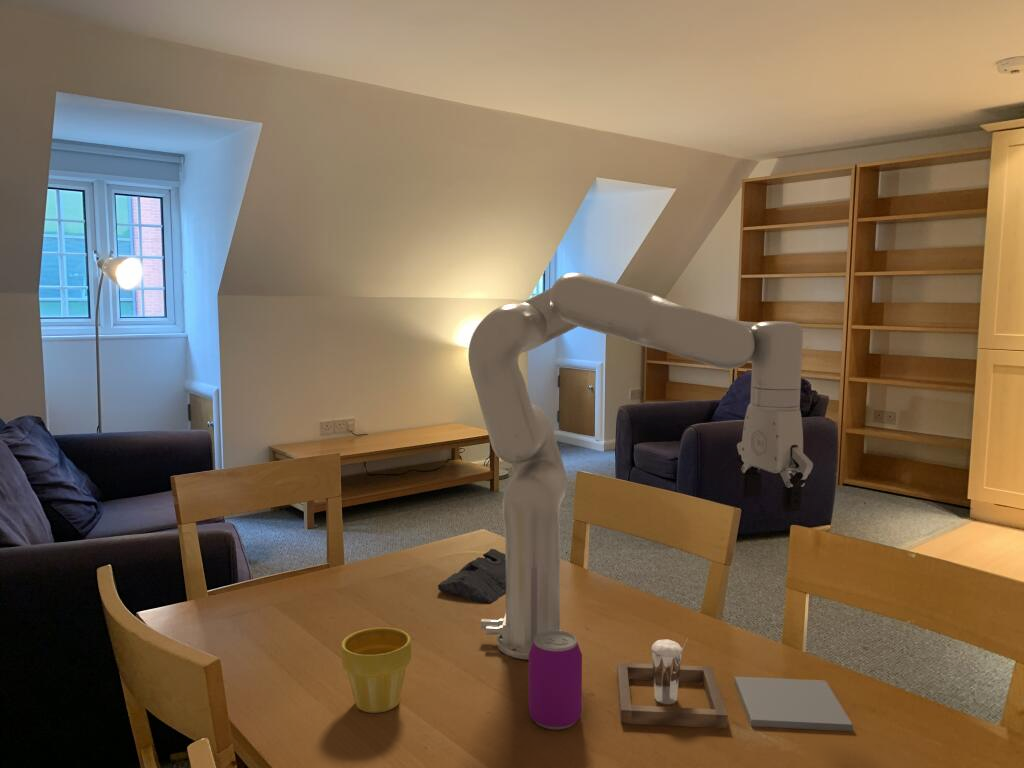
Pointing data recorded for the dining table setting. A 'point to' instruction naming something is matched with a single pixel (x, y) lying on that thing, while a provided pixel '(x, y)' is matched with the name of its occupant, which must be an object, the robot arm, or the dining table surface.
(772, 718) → the slate pad
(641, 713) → the walnut collar
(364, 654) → the plant pot
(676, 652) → the milkshake
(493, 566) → the dark slate chunk
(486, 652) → the dining table surface
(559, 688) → the beverage can
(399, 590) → the dining table surface
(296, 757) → the dining table surface
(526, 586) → the robot arm
